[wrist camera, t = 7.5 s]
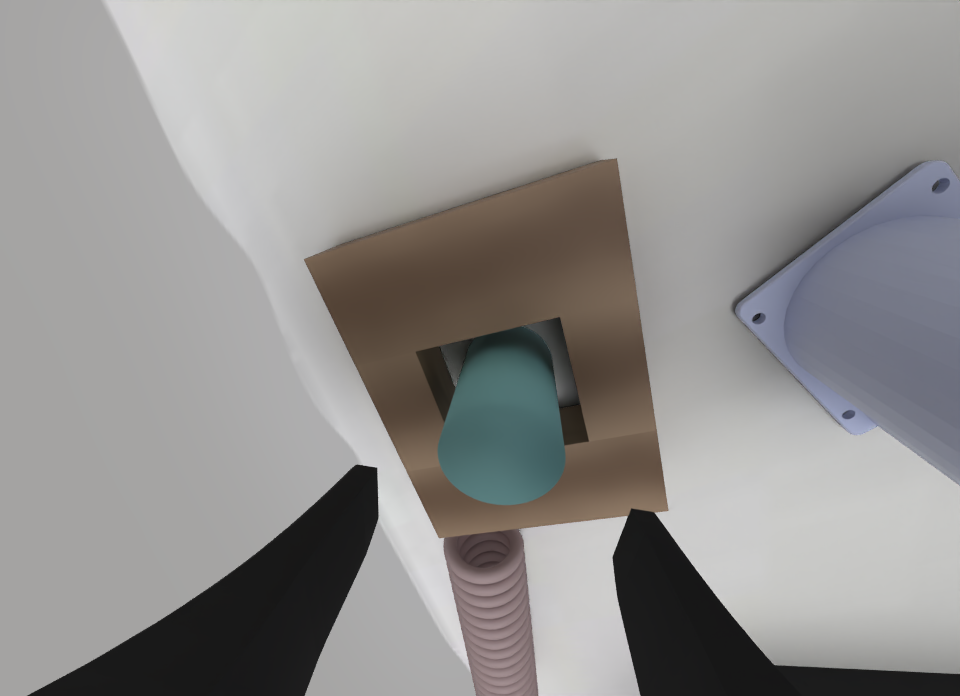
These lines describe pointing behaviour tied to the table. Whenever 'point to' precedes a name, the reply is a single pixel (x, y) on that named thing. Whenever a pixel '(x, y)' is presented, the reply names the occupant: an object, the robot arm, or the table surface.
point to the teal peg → (504, 421)
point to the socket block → (497, 307)
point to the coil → (494, 610)
